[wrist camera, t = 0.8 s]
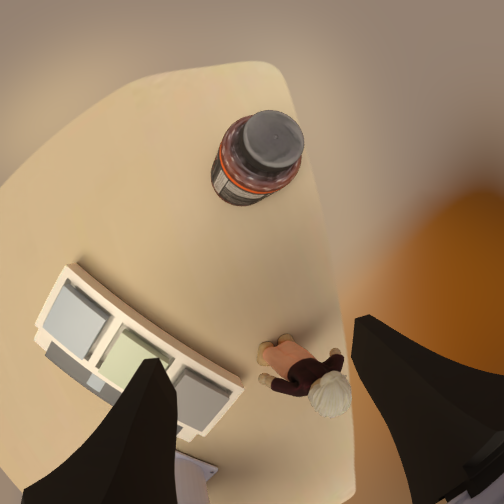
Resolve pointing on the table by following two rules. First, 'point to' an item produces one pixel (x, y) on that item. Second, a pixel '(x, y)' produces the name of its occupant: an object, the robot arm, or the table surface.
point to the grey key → (198, 400)
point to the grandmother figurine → (306, 376)
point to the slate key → (75, 321)
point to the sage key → (128, 358)
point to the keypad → (116, 323)
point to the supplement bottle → (257, 157)
